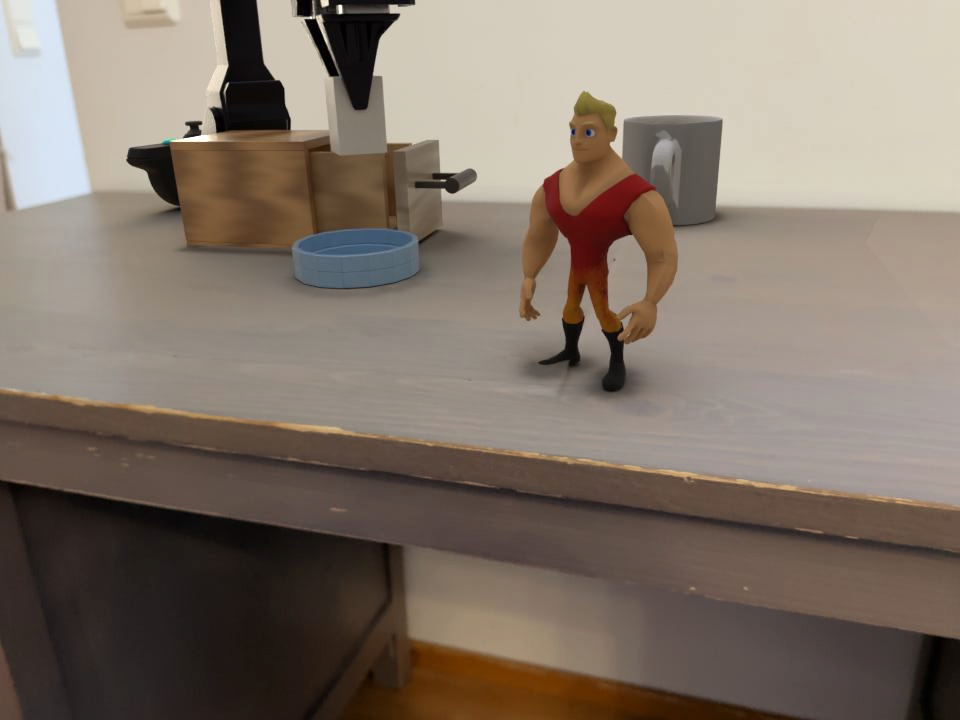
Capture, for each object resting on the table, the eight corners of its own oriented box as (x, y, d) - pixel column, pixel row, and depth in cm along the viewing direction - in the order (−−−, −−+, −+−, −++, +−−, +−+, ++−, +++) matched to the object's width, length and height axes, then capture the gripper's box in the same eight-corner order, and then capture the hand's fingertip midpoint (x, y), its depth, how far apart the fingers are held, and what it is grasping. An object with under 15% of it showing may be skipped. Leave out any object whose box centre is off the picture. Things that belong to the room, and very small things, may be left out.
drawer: (483, 226, 77) (480, 139, 74) (455, 248, 69) (452, 151, 66) (328, 221, 81) (320, 139, 78) (285, 242, 73) (274, 151, 70)
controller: (234, 200, 101) (222, 119, 97) (156, 217, 91) (139, 129, 87) (210, 198, 103) (198, 119, 99) (131, 215, 93) (114, 128, 89)
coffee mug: (638, 204, 90) (642, 114, 86) (725, 211, 85) (733, 115, 82) (593, 227, 79) (595, 125, 76) (689, 235, 75) (697, 127, 71)
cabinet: (361, 230, 81) (352, 129, 78) (315, 254, 72) (303, 141, 68) (245, 226, 85) (231, 130, 81) (187, 249, 75) (169, 141, 72)
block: (330, 150, 67) (324, 76, 65) (376, 147, 68) (371, 75, 66) (339, 156, 64) (332, 77, 61) (387, 152, 65) (382, 76, 63)
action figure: (499, 364, 45) (494, 91, 40) (536, 347, 48) (536, 88, 42) (644, 406, 39) (661, 93, 34) (677, 384, 42) (699, 89, 36)
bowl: (329, 259, 70) (326, 226, 69) (435, 264, 67) (433, 229, 66) (273, 291, 61) (269, 253, 60) (394, 297, 58) (391, 258, 57)
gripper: (481, -129, 53) (485, 110, 59) (407, -85, 70) (416, 98, 75) (318, -137, 50) (340, 118, 56) (280, -89, 66) (300, 104, 72)
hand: (354, 108), depth 65 cm, fingers closed on block, 4 cm apart
